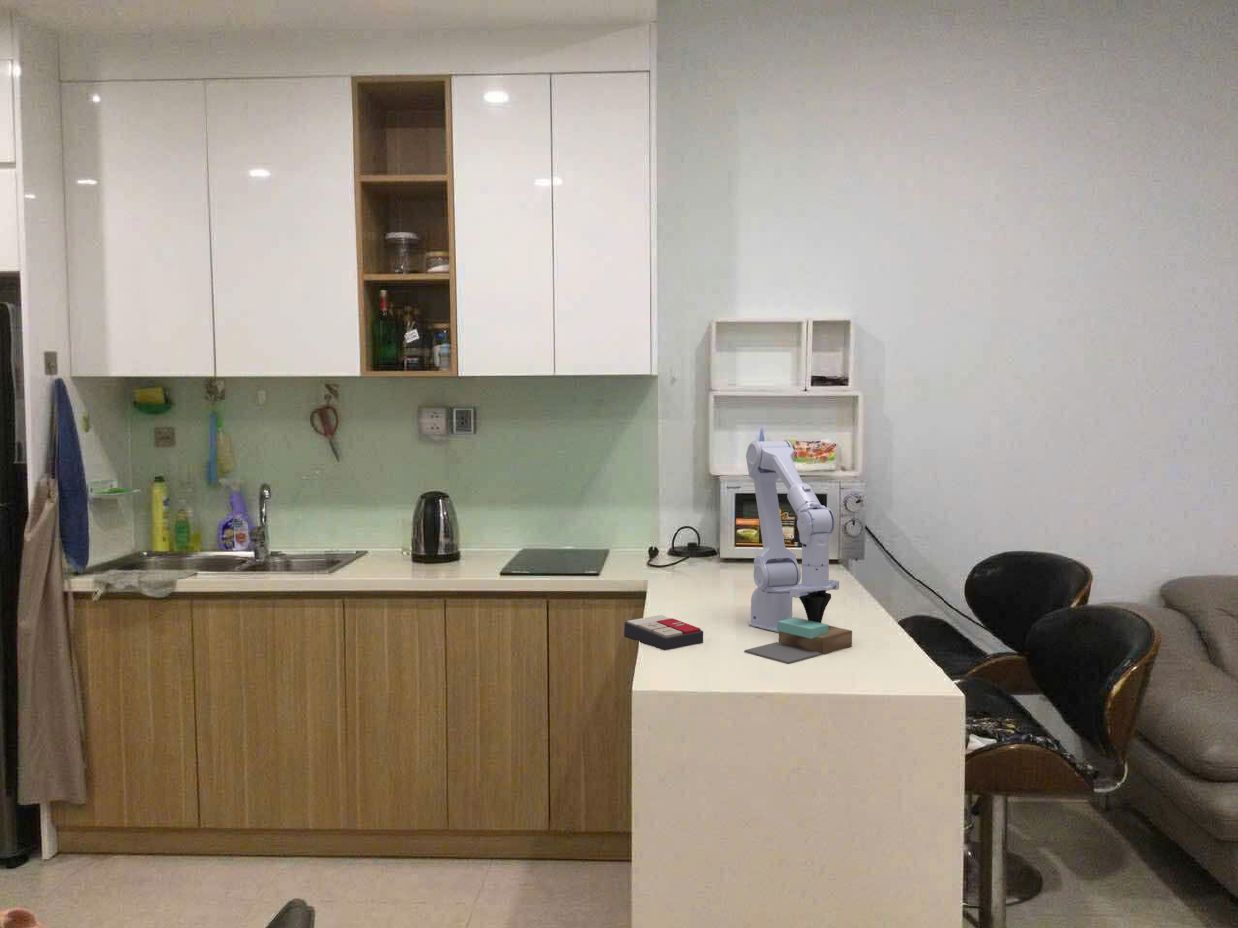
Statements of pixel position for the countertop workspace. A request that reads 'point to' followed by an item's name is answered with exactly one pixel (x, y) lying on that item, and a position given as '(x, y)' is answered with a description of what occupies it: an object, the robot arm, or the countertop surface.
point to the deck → (820, 640)
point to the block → (802, 627)
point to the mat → (782, 652)
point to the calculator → (663, 632)
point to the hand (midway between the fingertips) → (814, 626)
